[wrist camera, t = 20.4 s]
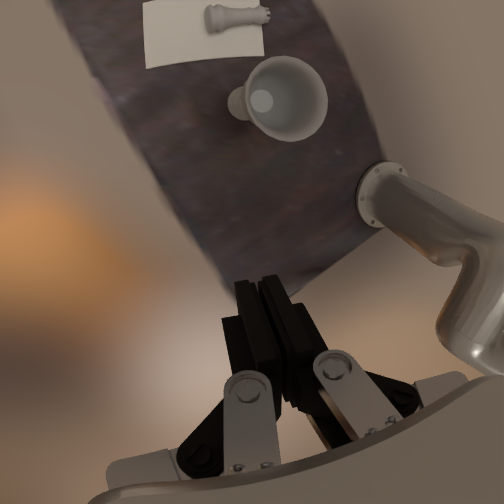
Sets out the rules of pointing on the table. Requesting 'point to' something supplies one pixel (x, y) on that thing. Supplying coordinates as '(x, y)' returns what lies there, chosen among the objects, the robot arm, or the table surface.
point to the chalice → (282, 99)
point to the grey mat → (195, 33)
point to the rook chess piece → (233, 16)
